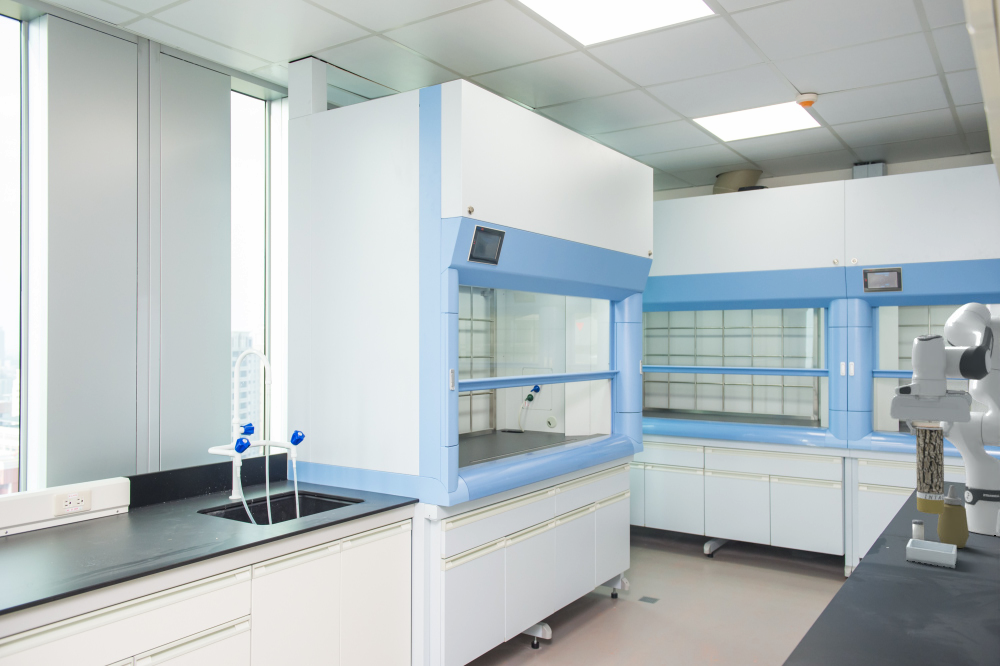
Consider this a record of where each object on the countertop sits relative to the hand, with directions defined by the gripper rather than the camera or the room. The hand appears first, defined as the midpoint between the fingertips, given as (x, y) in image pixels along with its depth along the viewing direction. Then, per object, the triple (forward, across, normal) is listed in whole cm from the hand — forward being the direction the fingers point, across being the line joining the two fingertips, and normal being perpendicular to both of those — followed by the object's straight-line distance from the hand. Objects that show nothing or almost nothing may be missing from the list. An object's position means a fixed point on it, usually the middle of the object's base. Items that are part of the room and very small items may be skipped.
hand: (929, 436), depth 202 cm
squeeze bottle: (+34, -5, -10) cm, 35 cm away
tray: (+33, -1, +12) cm, 35 cm away
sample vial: (+34, +4, -11) cm, 35 cm away
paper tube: (+22, 0, 0) cm, 22 cm away
